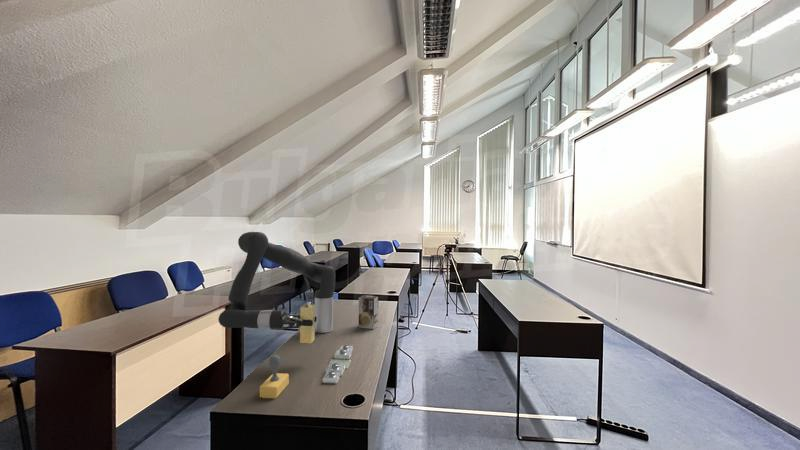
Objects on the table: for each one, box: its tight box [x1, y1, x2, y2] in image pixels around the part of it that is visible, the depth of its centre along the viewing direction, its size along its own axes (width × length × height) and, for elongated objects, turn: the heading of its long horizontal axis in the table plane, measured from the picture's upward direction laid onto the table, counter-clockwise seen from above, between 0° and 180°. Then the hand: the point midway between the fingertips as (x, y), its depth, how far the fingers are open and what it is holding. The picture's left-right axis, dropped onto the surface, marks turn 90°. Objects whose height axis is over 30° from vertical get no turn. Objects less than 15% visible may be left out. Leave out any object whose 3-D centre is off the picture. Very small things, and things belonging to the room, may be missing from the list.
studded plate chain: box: [322, 344, 354, 384], centre depth 137 cm, size 32×8×3 cm, turn 178°
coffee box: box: [358, 294, 379, 330], centre depth 185 cm, size 9×6×16 cm
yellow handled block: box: [259, 354, 290, 400], centre depth 116 cm, size 10×6×12 cm, turn 175°
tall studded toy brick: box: [299, 301, 316, 344], centre depth 138 cm, size 4×4×15 cm
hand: (314, 321), depth 137 cm, fingers closed on tall studded toy brick, 4 cm apart
